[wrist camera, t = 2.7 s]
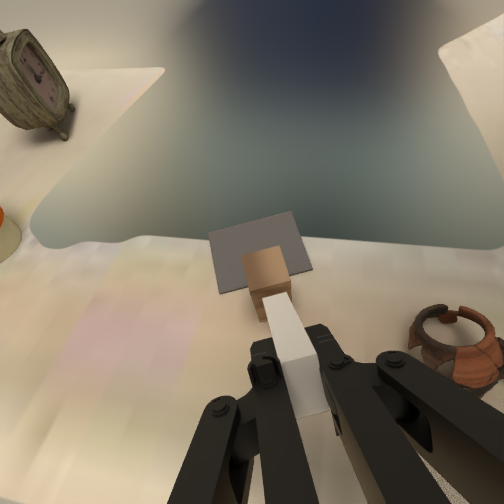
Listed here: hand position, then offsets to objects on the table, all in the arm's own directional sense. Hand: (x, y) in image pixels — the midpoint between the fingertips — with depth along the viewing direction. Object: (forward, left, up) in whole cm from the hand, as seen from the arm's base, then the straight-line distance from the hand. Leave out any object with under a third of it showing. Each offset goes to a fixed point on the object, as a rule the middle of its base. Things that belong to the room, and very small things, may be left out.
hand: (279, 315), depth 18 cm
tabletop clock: (+37, -64, -23) cm, 77 cm away
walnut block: (0, -9, -22) cm, 24 cm away
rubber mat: (0, -18, -22) cm, 29 cm away
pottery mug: (-20, +3, -23) cm, 30 cm away
